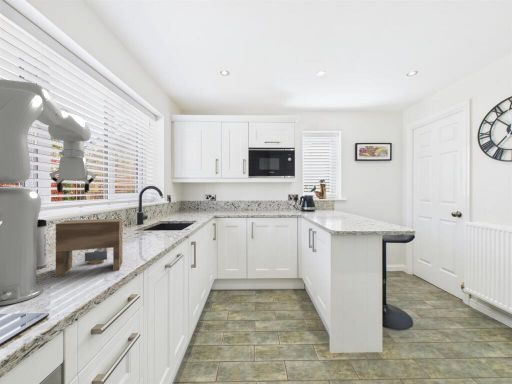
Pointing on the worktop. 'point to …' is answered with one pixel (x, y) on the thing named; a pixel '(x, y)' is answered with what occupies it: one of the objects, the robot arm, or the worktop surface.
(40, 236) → the travel mug
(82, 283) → the worktop surface
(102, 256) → the scraper
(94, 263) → the puck
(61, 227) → the wooden step stool
